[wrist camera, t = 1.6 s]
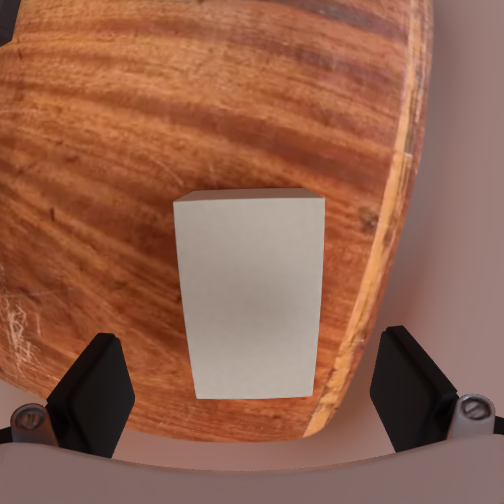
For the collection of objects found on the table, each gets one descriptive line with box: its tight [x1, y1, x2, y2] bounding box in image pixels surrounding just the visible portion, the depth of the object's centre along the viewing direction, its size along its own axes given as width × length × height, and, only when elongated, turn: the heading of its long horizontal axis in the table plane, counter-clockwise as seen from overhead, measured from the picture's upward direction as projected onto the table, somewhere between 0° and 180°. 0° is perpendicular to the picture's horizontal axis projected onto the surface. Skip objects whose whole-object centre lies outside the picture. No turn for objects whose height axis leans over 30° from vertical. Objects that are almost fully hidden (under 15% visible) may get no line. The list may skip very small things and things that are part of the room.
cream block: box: [173, 188, 325, 399], centre depth 16 cm, size 6×10×4 cm, turn 1°
